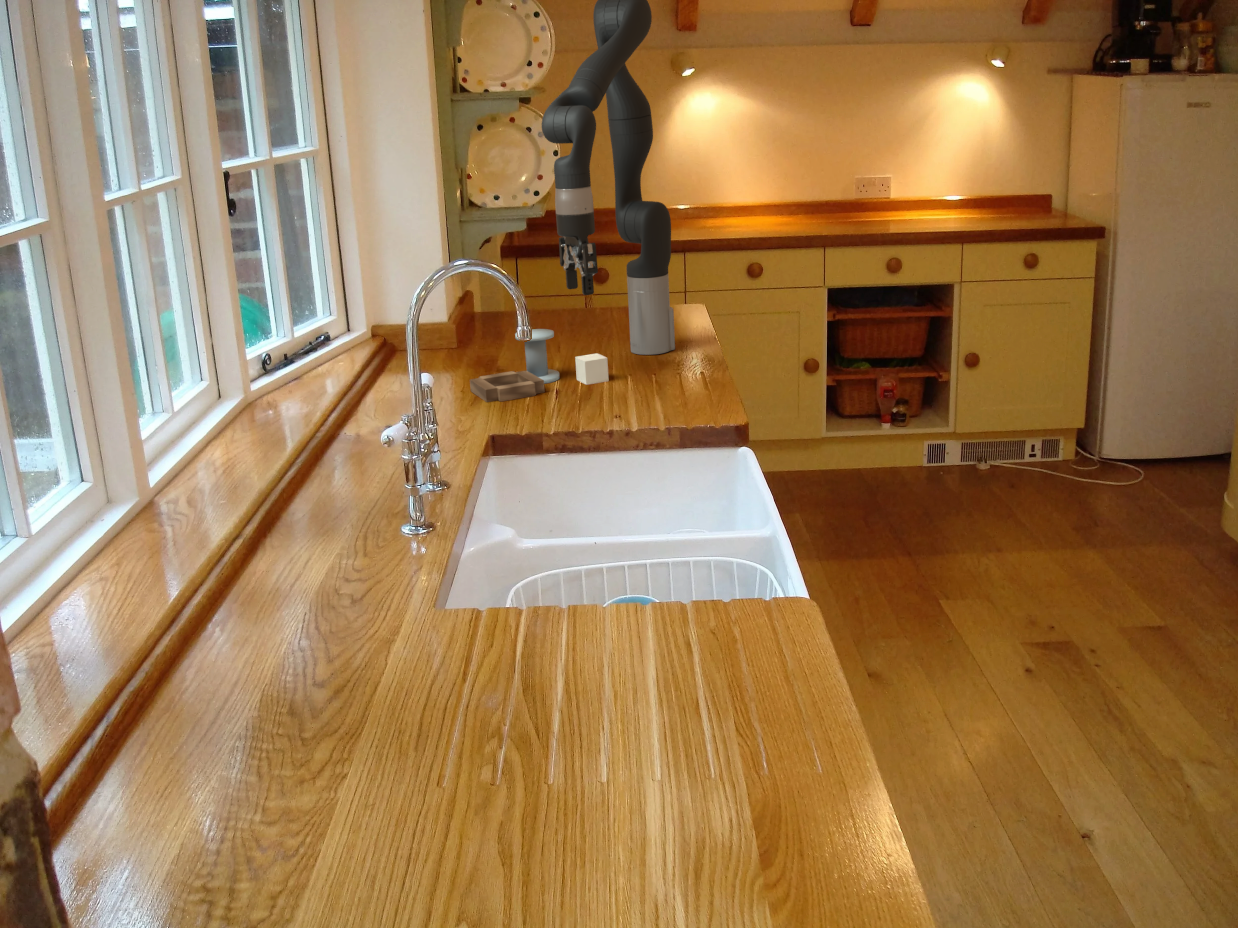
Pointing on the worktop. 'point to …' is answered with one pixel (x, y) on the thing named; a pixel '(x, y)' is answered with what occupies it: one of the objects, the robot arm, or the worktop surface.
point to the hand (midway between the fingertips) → (580, 291)
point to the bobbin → (539, 355)
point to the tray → (507, 386)
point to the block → (591, 368)
